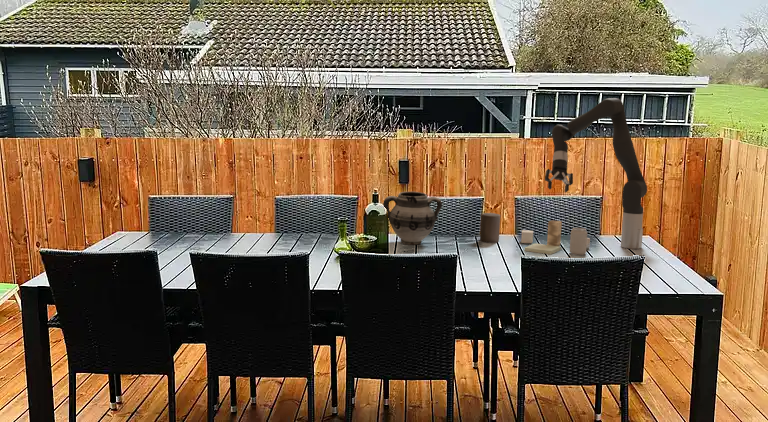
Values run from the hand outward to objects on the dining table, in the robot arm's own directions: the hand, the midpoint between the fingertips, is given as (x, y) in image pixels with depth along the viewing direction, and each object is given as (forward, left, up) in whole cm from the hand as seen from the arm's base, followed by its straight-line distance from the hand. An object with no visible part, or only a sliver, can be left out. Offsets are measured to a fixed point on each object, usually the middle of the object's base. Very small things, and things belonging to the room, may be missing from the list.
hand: (558, 190), depth 353 cm
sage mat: (-5, +32, -25) cm, 41 cm away
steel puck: (-19, +15, -26) cm, 35 cm away
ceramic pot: (+53, +57, -26) cm, 82 cm away
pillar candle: (+25, +27, -26) cm, 45 cm away
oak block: (-5, +17, -26) cm, 31 cm away
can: (-21, +29, -26) cm, 44 cm away
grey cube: (+9, +17, -26) cm, 32 cm away
